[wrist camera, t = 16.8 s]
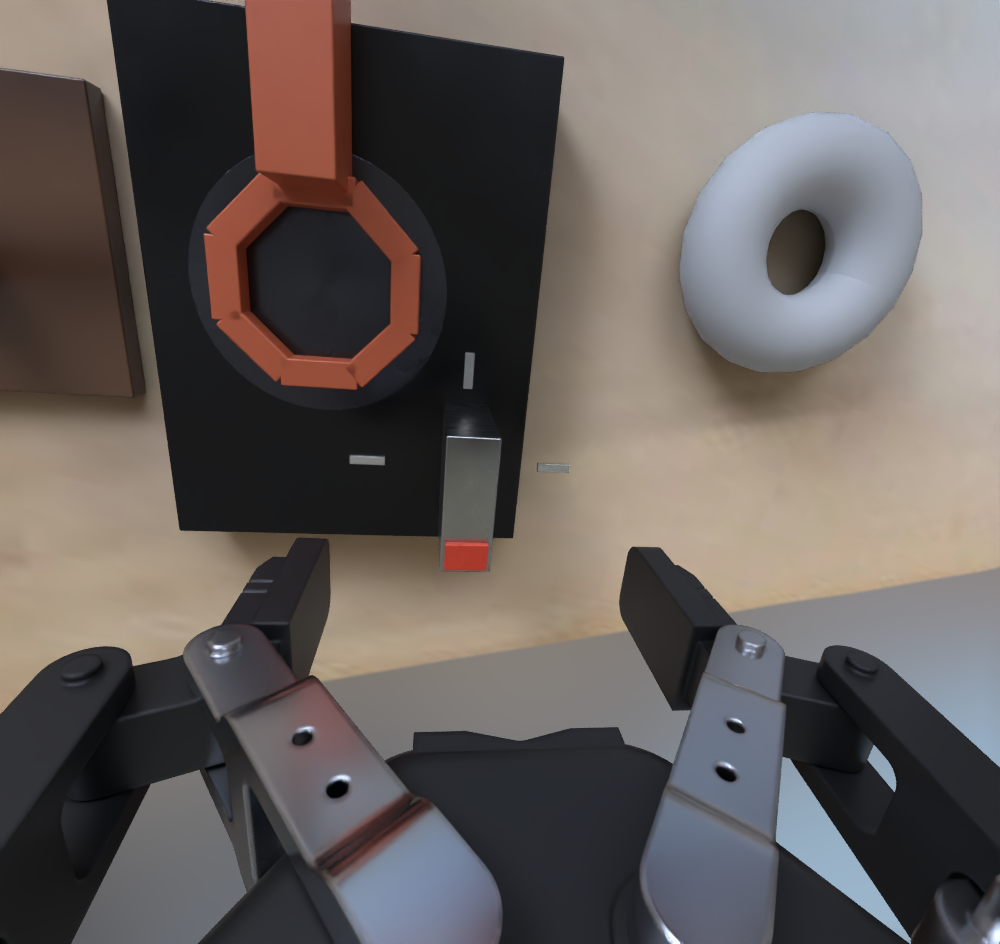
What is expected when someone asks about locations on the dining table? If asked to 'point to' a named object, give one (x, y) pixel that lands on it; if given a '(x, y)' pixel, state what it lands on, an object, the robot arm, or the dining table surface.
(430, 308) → the burner
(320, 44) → the hanging ring
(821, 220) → the donut
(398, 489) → the stove
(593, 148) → the dining table surface
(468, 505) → the knob
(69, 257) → the peg stand
